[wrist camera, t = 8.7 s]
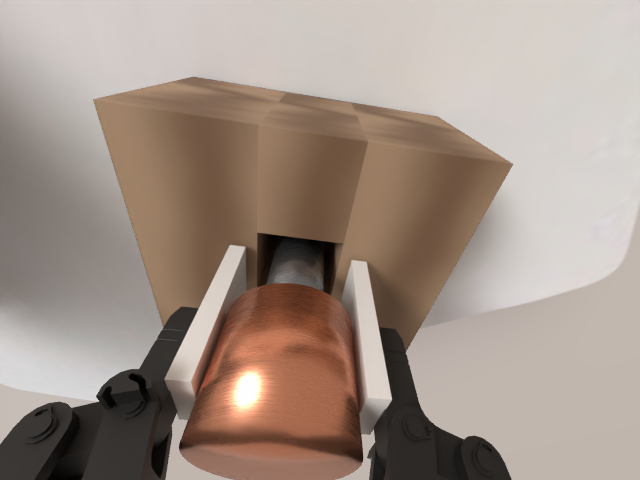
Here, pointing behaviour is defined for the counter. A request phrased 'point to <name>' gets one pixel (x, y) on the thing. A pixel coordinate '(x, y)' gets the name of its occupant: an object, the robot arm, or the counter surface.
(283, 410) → the copper cylinder with shaft
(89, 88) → the counter surface
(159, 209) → the hitch block
